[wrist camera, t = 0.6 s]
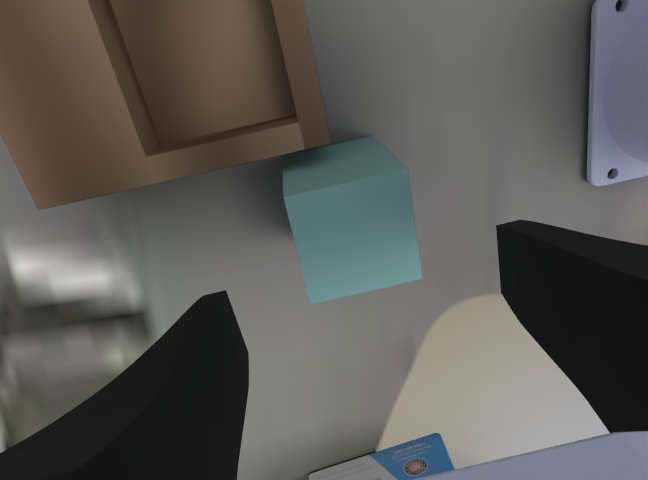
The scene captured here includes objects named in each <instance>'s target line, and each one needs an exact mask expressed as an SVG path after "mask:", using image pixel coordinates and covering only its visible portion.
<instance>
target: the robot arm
mask: <svg viewBox="0 0 648 480" xmlns="http://www.w3.org/2000/svg"><path fill="white" fill-rule="evenodd" d="M617 1H618V0H596V1H595V3H594V4H593V7H592V15H591V49H590V82H589V116H588V150H587V181H588V182H589V183H590V184H593V185H595V186H604V185H609V184H613V183H618V182H622V181H626V180H631V179H635V178H640V177H644V176H648V0H620V1H621V8H620V10H619V11H618V12H617V11H616V8H615V5H616V2H617ZM610 169H612V170H613V171H612V174H611V175H610V176H608V177H607V174H608V172H609V170H610ZM496 229H497V242H498V256H499V269H500V283H501V293H502V295H503V297H504V298H505V300H506V301H507V303H508V305H509V306H510V308H511V309H512V311H513V313H514V314H515V315H516V317H517V319H518V320H519V321H520V323H521V324H522V325H523V326H524V327H525V329H526V330H527V331H528V332H529V333H530V335H531V336H532V337H533V338H534V339H535V340H536V342H538V344H539V345H540V346H541V347H542V348H543V349H544V351H545V352H546V353H547V354H548V355H549V356H550V357H551V359H552V360H553V361H554V362H555V363H556V364H557V365H558V367H559V368H560V369H561V370H562V371H563V372H564V373H565V374H566V376H567V377H568V378H569V379H570V380H571V381H572V382H573V384H574V385H575V386H576V387H577V388H578V390H579V391H580V392H581V393H582V395H583V396H584V397H585V398H586V400H587V401H588V402H589V404H590V405H591V407H592V408H593V409H594V411H595V412H596V414H597V415H598V416H599V418H600V419H601V421H602V422H603V424H604V425H605V426H606V428H607V429H608V431H609V432H610V433H609V434H605V435H601V436H596V437H592V438H588V439H584V440H579V441H575V442H571V443H567V444H562V445H558V446H554V447H550V448H545V449H541V450H537V451H533V452H528V453H525V454H520V455H516V456H511V457H507V458H503V459H499V460H495V461H490V462H486V463H481V464H478V465H473V466H469V467H464V468H460V469H456V470H451V471H447V472H443V473H439V474H434V475H430V476H426V477H422V478H417V479H413V480H648V246H646V245H640V244H635V243H629V242H624V241H618V240H613V239H608V238H604V237H599V236H594V235H590V234H585V233H581V232H577V231H573V230H568V229H564V228H560V227H556V226H551V225H547V224H542V223H538V222H532V221H526V220H517V221H513V222H509V223H505V224H500V225H496ZM248 387H249V360H248V351H247V348H246V345H245V342H244V340H243V337H242V334H241V331H240V328H239V326H238V323H237V320H236V317H235V314H234V312H233V309H232V306H231V303H230V301H229V298H228V295H227V292H226V290H225V291H221V292H217V293H213V294H208V295H204V296H202V297H201V298H200V299H199V300H197V301H196V302H195V303H194V304H193V305H192V306H191V307H190V308H189V309H188V310H187V311H186V312H185V313H184V314H183V315H182V316H181V317H180V318H179V319H178V320H177V321H176V322H175V323H174V324H173V326H172V327H171V328H170V329H169V330H168V331H167V332H166V333H165V334H164V335H163V336H162V337H161V338H160V339H159V340H158V341H157V342H155V343H154V344H153V345H152V346H151V347H150V348H149V349H148V350H147V351H146V352H145V353H144V354H143V355H142V356H140V357H139V358H138V359H137V360H136V361H135V362H134V363H133V364H132V365H131V366H129V367H128V368H127V369H126V370H125V371H124V372H122V373H121V374H120V375H119V376H118V377H116V378H115V379H114V380H112V381H111V382H110V383H109V384H107V385H106V386H105V387H103V388H102V389H101V390H100V391H98V392H97V393H96V394H94V395H93V396H92V397H90V398H89V399H87V400H86V401H84V402H83V403H81V404H80V405H78V406H77V407H75V408H74V409H72V410H71V411H69V412H68V413H66V414H65V415H63V416H62V417H61V418H59V419H58V420H56V421H55V422H53V423H51V424H50V425H48V426H47V427H45V428H43V429H42V430H40V431H38V432H37V433H35V434H33V435H32V436H30V437H28V438H27V439H25V440H23V441H21V442H19V443H18V444H16V445H14V446H12V447H11V448H9V449H7V450H5V451H4V452H2V453H0V480H237V470H238V461H239V454H240V447H241V440H242V432H243V425H244V418H245V411H246V403H247V396H248Z"/></svg>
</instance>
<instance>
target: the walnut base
mask: <svg viewBox="0 0 648 480" xmlns="http://www.w3.org/2000/svg"><path fill="white" fill-rule="evenodd" d="M0 133H1V135H2V137H3V139H4V141H5V143H6V145H7V147H8V149H9V151H10V153H11V155H12V157H13V159H14V161H15V163H16V166H17V168H18V170H19V172H20V174H21V176H22V178H23V180H24V182H25V184H26V186H27V188H28V190H29V192H30V194H31V196H32V198H33V200H34V202H35V204H36V206H37V208H38V210H41V209H46V208H50V207H55V206H59V205H63V204H68V203H72V202H77V201H81V200H85V199H90V198H94V197H99V196H103V195H107V194H112V193H116V192H121V191H125V190H129V189H134V188H138V187H143V186H147V185H151V184H156V183H160V182H165V181H169V180H173V179H178V178H182V177H187V176H191V175H196V174H200V173H204V172H209V171H213V170H218V169H222V168H226V167H231V166H235V165H240V164H244V163H248V162H253V161H257V160H262V159H266V158H270V157H275V156H279V155H284V154H288V153H292V152H297V151H301V150H306V149H310V148H315V147H319V146H323V145H328V144H331V139H330V134H329V129H328V124H327V119H326V114H325V109H324V104H323V100H322V95H321V90H320V85H319V80H318V75H317V70H316V65H315V60H314V55H313V50H312V45H311V40H310V35H309V30H308V25H307V20H306V15H305V10H304V5H303V0H0Z"/></svg>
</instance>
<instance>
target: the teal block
mask: <svg viewBox="0 0 648 480" xmlns="http://www.w3.org/2000/svg"><path fill="white" fill-rule="evenodd" d="M282 163H283V198H284V202H285V206H286V210H287V214H288V218H289V222H290V225H291V229H292V233H293V237H294V241H295V245H296V249H297V253H298V257H299V261H300V265H301V268H302V272H303V276H304V280H305V284H306V288H307V292H308V296H309V300H310V304H315V303H320V302H324V301H329V300H333V299H337V298H342V297H346V296H350V295H355V294H359V293H364V292H368V291H372V290H377V289H381V288H386V287H390V286H394V285H399V284H403V283H408V282H412V281H416V280H421V279H423V277H422V270H421V263H420V255H419V248H418V240H417V233H416V226H415V218H414V211H413V203H412V196H411V189H410V181H409V174H408V169H407V168H406V167H405V166H404V165H403V164H402V163H401V162H400V161H399V160H398V159H396V158H395V157H394V156H393V155H392V154H391V153H390V152H389V151H388V150H387V149H386V148H385V147H384V146H382V145H381V144H380V143H379V142H378V141H377V140H376V139H375V138H374V137H373V136H369V137H365V138H360V139H356V140H352V141H347V142H343V143H338V144H334V145H329V146H325V147H321V148H316V149H312V150H307V151H303V152H299V153H294V154H290V155H285V156H282Z"/></svg>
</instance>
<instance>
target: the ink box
mask: <svg viewBox="0 0 648 480" xmlns="http://www.w3.org/2000/svg"><path fill="white" fill-rule="evenodd" d="M451 470H455V469H454V467H453V464H452V462H451V459H450V457H449V454H448V452H447V449H446V447H445V445H444V442H443V440H442V437H441V435H440V434H438V433H434V434H431V435H428V436H425V437H422V438H419V439H416V440H413V441H410V442H407V443H403V444H400V445H397V446H394V447H391V448H388V449H385V450H382V451H379V452H375V453H372V454H369V455H366V456H363V457H360V458H357V459H354V460H351V461H348V462H344V463H341V464H338V465H335V466H332V467H329V468H326V469H323V470H320V471H317V472H314V473H312V474H310V475H309V476H308V479H309V480H413V479H417V478H422V477H426V476H430V475H434V474H439V473H443V472H447V471H451Z"/></svg>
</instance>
